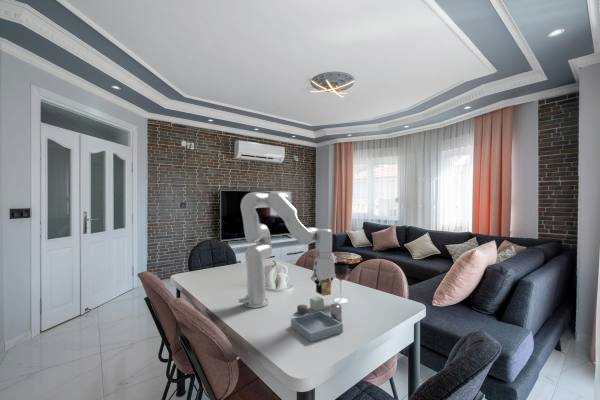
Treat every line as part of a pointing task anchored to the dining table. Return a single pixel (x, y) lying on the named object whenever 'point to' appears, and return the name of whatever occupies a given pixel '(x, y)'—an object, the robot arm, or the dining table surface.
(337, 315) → the metal cylinder
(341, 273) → the wineglass
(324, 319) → the tray
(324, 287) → the oak block
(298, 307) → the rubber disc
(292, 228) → the robot arm
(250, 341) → the dining table surface
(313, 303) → the sage block
